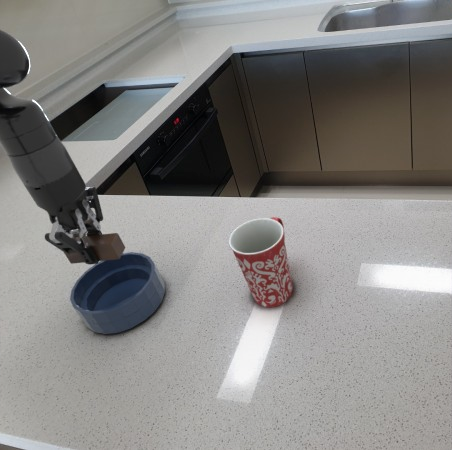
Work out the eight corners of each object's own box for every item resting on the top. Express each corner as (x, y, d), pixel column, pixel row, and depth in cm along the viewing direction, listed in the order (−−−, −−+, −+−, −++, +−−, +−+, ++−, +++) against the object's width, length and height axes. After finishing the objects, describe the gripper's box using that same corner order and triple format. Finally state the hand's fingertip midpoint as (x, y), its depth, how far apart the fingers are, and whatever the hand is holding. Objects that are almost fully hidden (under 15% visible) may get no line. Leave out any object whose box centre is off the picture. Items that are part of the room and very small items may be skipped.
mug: (286, 316, 77) (269, 257, 69) (239, 307, 80) (218, 249, 72) (312, 265, 86) (300, 207, 78) (269, 258, 89) (253, 202, 81)
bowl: (116, 348, 78) (101, 326, 74) (70, 316, 86) (54, 294, 83) (182, 290, 87) (171, 267, 83) (134, 265, 95) (122, 243, 91)
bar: (70, 263, 79) (61, 249, 77) (78, 252, 81) (69, 237, 79) (119, 259, 77) (111, 244, 75) (125, 247, 80) (117, 232, 78)
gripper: (47, 150, 75) (94, 231, 85) (-2, 200, 64) (59, 287, 74) (90, 144, 74) (132, 228, 84) (47, 194, 63) (102, 283, 73)
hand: (97, 255), depth 79 cm, fingers closed on bar, 3 cm apart
